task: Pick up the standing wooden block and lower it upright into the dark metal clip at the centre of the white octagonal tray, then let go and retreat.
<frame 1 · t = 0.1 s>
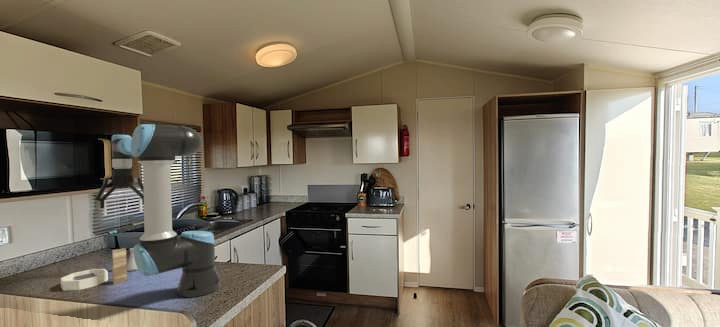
hand: (123, 213, 149), 28 cm above the worktop, fingers open, 13 cm apart
wooden block: (119, 282, 138), on the worktop
flask: (133, 269, 155), on the worktop
white octagonal tray: (85, 283, 137), on the worktop
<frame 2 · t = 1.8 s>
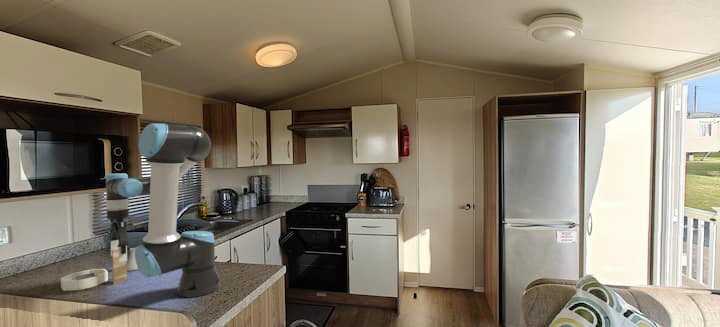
hand: (118, 258, 138), 10 cm above the worktop, fingers open, 13 cm apart
nothing on the worktop moved.
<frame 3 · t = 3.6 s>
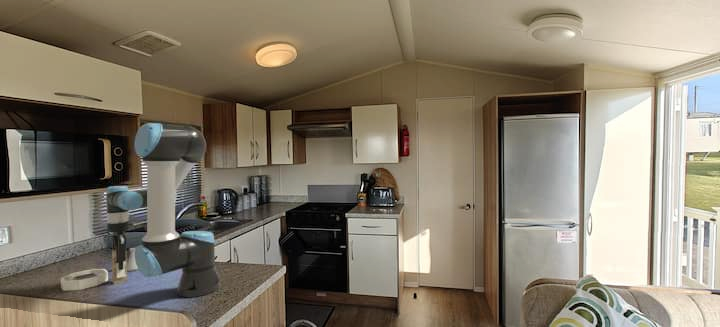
hand: (119, 276, 138), 3 cm above the worktop, fingers closed on wooden block, 2 cm apart
wooden block: (119, 282, 138), on the worktop, touching gripper
everything else where it was.
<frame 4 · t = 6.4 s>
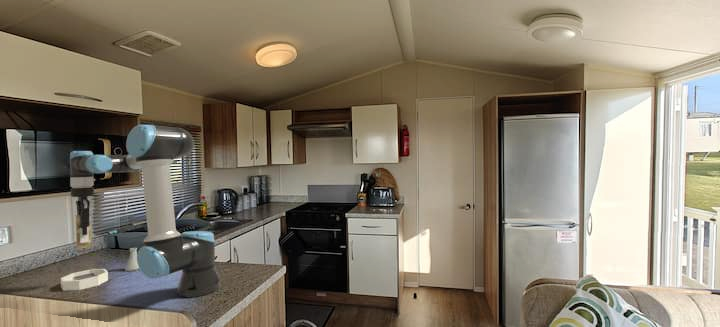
hand: (83, 241, 137), 18 cm above the worktop, fingers closed on wooden block, 2 cm apart
wooden block: (84, 247, 137), point 15 cm above the worktop, touching gripper
everything else where it was.
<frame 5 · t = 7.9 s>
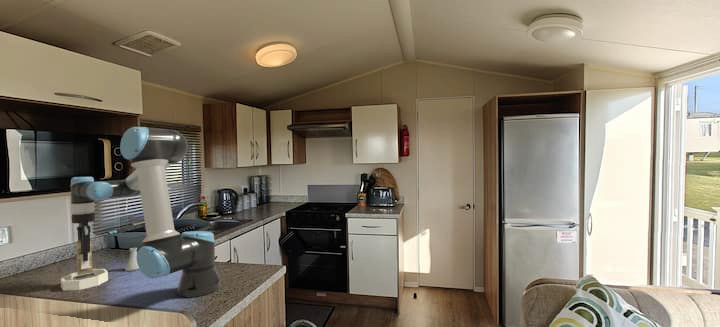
hand: (84, 267, 137), 7 cm above the worktop, fingers closed on wooden block, 2 cm apart
wooden block: (84, 273, 137), point 4 cm above the worktop, touching gripper
everything else where it was.
when the fingers open (5 cm above the worktop, at t = 9.1 s): wooden block drops 1 cm, resting on white octagonal tray.
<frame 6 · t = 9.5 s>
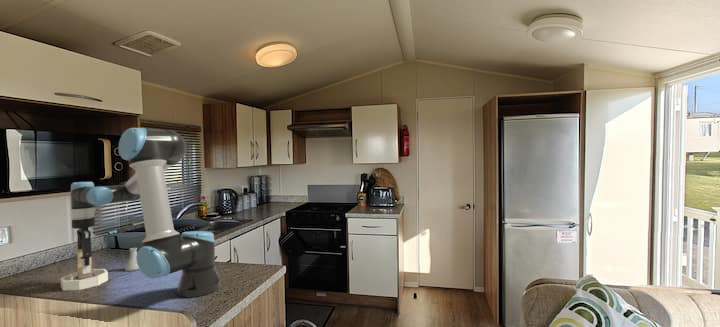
hand: (84, 270, 137), 5 cm above the worktop, fingers open, 8 cm apart
wooden block: (85, 281, 137), point 1 cm above the worktop, touching white octagonal tray
everything else where it was.
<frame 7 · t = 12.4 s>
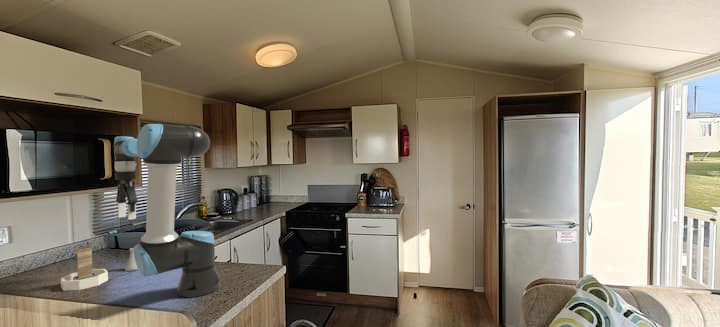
hand: (127, 218, 144), 26 cm above the worktop, fingers open, 13 cm apart
nothing on the worktop moved.
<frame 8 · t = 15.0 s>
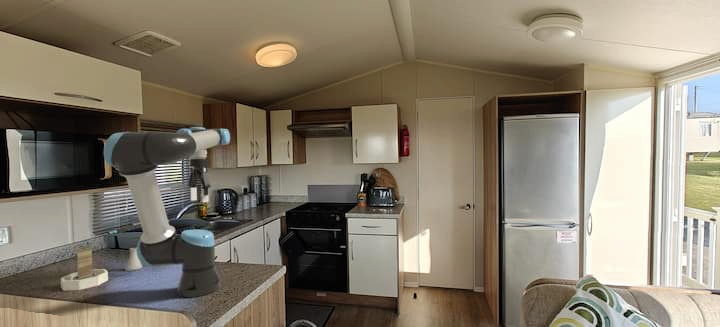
hand: (199, 201, 159), 32 cm above the worktop, fingers open, 13 cm apart
nothing on the worktop moved.
at the end: wooden block 0.1 cm off-centre on the white octagonal tray, point 0.8 cm above the white octagonal tray's base; wooden block tilted 0°; the gripper is holding nothing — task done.
